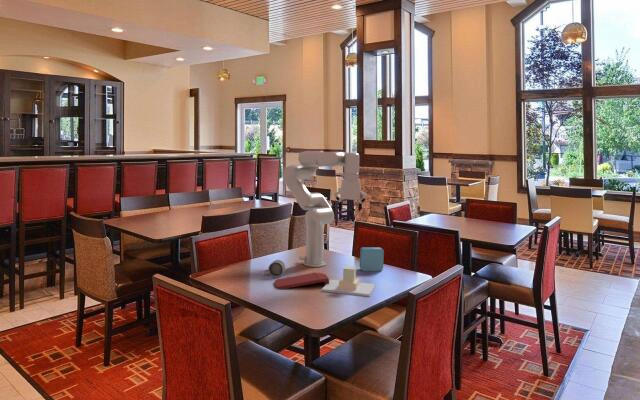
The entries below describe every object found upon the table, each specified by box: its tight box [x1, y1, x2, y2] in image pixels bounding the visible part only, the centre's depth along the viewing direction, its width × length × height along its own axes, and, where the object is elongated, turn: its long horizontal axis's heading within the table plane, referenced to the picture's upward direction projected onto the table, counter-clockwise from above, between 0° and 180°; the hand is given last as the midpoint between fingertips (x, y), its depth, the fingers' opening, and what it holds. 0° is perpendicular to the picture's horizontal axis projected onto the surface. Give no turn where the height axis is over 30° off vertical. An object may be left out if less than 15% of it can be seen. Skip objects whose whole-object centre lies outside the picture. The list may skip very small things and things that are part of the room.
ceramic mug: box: [263, 259, 286, 278], centre depth 235 cm, size 11×8×8 cm
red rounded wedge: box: [274, 272, 330, 290], centre depth 220 cm, size 12×5×25 cm
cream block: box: [342, 265, 357, 282], centre depth 214 cm, size 5×5×6 cm
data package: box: [359, 246, 385, 272], centre depth 248 cm, size 12×4×12 cm, turn 96°
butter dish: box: [321, 277, 376, 297], centre depth 215 cm, size 22×16×4 cm
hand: (350, 210), depth 237 cm, fingers open, 9 cm apart
